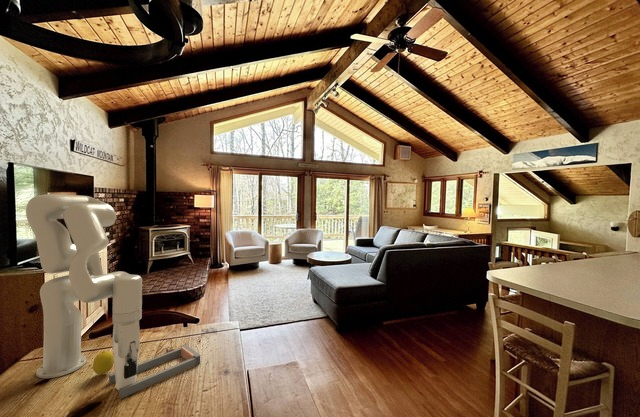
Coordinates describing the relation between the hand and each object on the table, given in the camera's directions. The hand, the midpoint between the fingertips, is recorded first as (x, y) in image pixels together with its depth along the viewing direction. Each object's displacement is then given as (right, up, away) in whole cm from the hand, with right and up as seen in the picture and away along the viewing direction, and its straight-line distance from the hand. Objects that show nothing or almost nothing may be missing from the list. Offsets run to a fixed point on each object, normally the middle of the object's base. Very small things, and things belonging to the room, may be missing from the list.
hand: (126, 371), depth 86 cm
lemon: (-11, -4, +5) cm, 13 cm away
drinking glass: (0, -5, 0) cm, 5 cm away
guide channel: (+5, -5, +7) cm, 10 cm away
